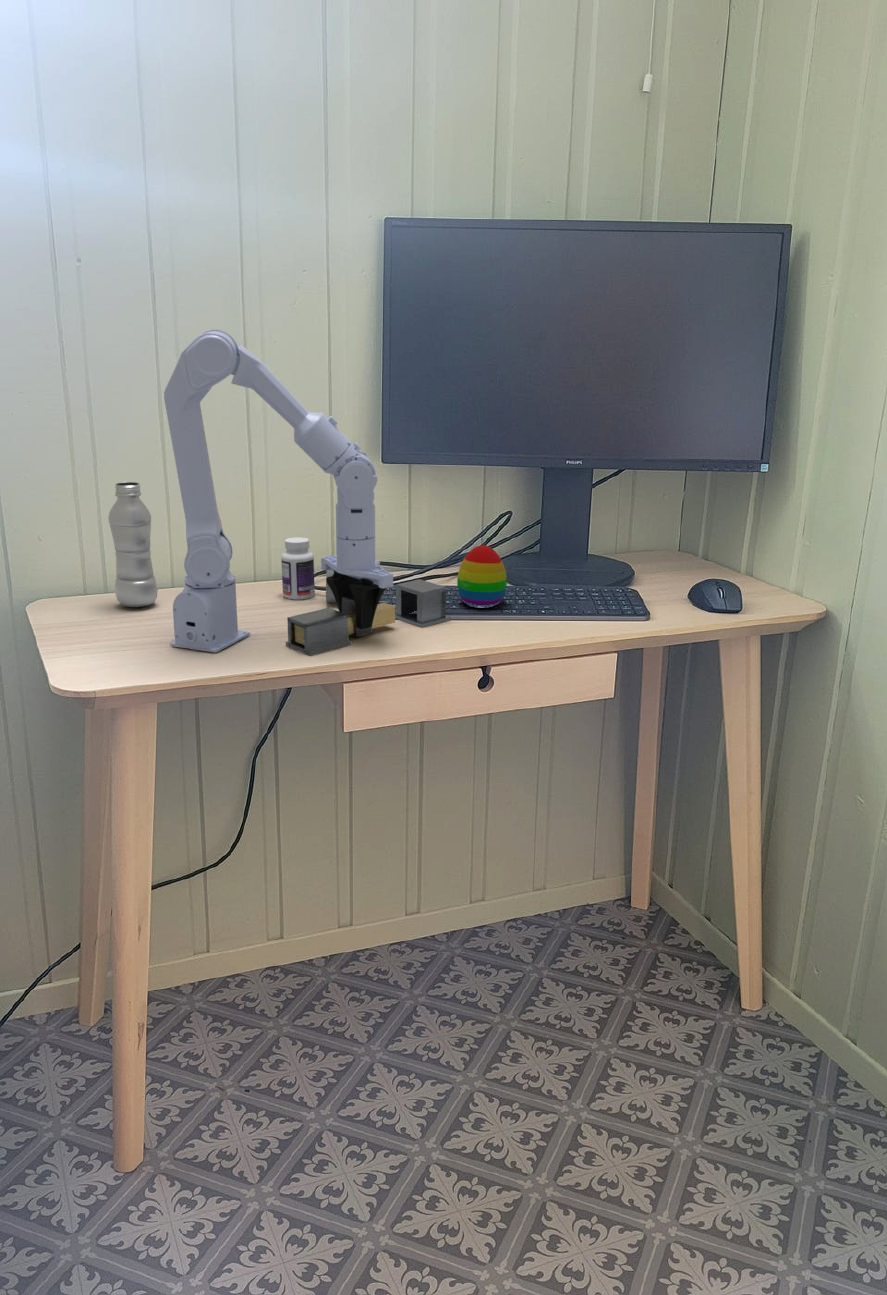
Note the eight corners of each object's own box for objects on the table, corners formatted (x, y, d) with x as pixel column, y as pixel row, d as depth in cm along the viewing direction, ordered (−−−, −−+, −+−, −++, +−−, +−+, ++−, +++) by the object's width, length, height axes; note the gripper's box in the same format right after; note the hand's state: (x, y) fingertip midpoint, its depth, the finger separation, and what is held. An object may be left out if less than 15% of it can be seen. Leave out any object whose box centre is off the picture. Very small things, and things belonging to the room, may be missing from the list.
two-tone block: (307, 649, 156) (306, 612, 154) (293, 643, 159) (292, 607, 157) (396, 626, 167) (396, 591, 166) (382, 621, 170) (382, 587, 168)
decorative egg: (466, 612, 176) (467, 552, 173) (450, 599, 184) (451, 541, 180) (513, 609, 179) (515, 549, 176) (495, 595, 186) (497, 538, 183)
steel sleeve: (310, 655, 155) (309, 625, 154) (285, 645, 159) (284, 616, 158) (351, 644, 160) (350, 615, 159) (326, 635, 164) (325, 606, 163)
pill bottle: (317, 592, 187) (316, 536, 184) (311, 600, 182) (309, 543, 179) (286, 591, 187) (284, 535, 184) (279, 599, 182) (277, 542, 179)
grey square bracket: (422, 627, 168) (422, 593, 167) (391, 617, 173) (391, 584, 172) (450, 620, 172) (450, 587, 171) (419, 610, 177) (419, 578, 176)
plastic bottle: (153, 611, 175) (144, 487, 168) (111, 611, 175) (100, 487, 168) (163, 600, 181) (154, 480, 174) (122, 600, 181) (111, 480, 174)
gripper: (409, 540, 157) (408, 630, 161) (346, 524, 167) (347, 609, 171) (371, 547, 153) (372, 639, 157) (309, 530, 162) (311, 617, 167)
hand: (356, 624), depth 164 cm, fingers closed on two-tone block, 3 cm apart
